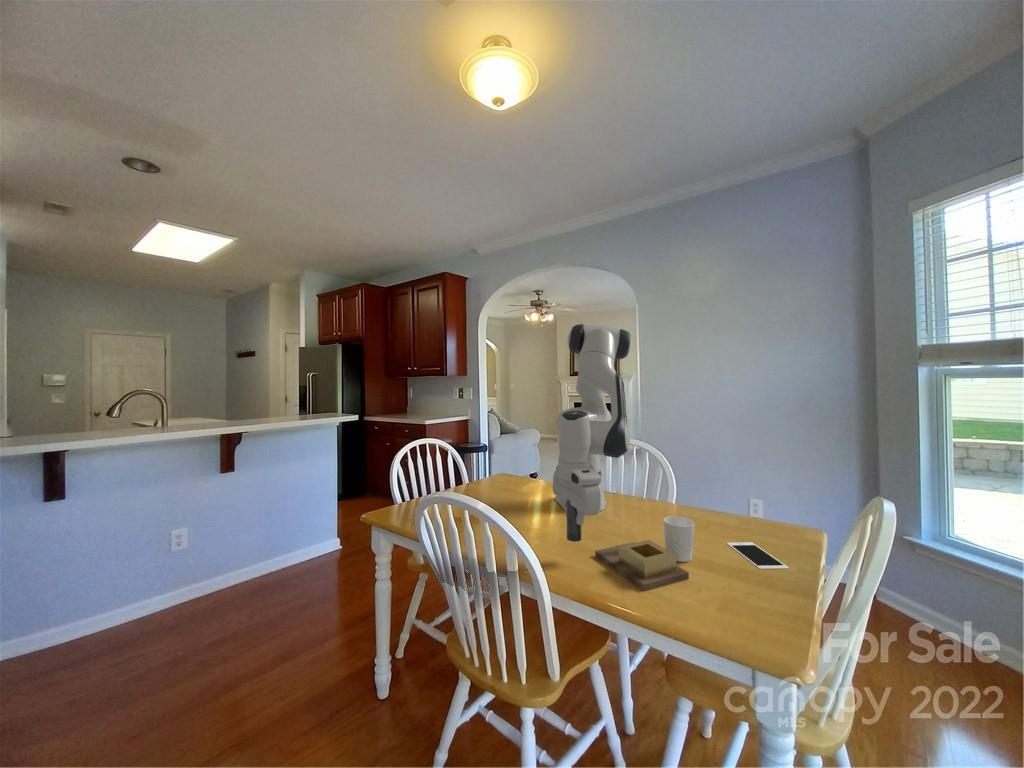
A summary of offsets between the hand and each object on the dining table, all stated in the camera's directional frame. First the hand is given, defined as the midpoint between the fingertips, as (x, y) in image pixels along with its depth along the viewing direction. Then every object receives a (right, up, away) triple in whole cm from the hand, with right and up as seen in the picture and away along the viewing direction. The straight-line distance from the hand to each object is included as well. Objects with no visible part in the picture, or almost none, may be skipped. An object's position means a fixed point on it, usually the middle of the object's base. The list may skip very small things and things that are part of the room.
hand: (574, 520), depth 109 cm
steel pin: (0, -5, 0) cm, 5 cm away
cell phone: (+51, -11, +2) cm, 52 cm away
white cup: (+30, -11, +2) cm, 32 cm away
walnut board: (+17, -11, -4) cm, 20 cm away
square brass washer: (+18, -10, -7) cm, 21 cm away
